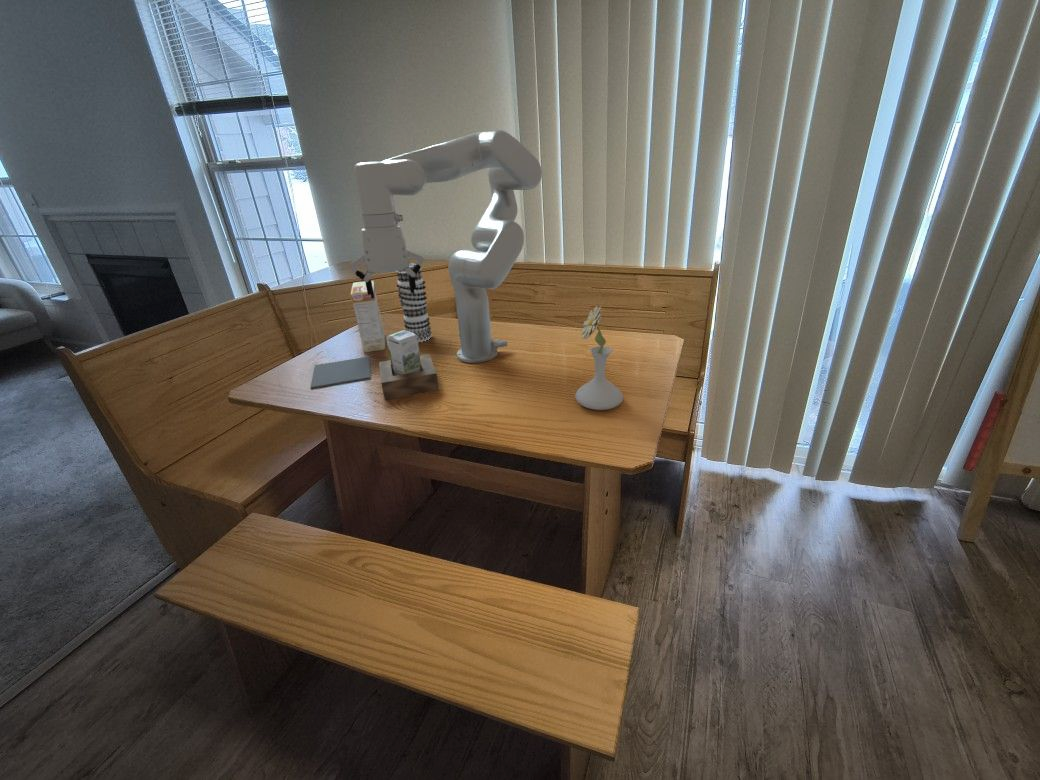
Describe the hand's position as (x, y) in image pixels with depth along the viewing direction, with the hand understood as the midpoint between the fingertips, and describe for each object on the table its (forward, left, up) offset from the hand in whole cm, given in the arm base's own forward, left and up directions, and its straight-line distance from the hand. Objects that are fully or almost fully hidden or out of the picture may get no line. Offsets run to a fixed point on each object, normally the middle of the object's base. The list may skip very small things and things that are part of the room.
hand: (392, 294), depth 112 cm
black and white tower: (-7, -35, -25) cm, 44 cm away
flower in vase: (-42, +30, -25) cm, 58 cm away
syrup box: (0, 0, -25) cm, 25 cm away
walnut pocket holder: (0, 0, -25) cm, 25 cm away
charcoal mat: (+18, -16, -25) cm, 35 cm away
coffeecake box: (+8, -37, -25) cm, 46 cm away
